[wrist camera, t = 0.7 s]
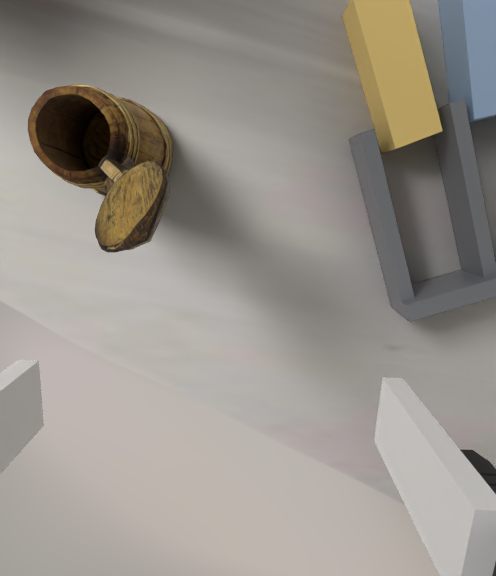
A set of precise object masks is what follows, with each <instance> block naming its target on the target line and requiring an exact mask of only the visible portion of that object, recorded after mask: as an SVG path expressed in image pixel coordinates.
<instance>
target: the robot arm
mask: <svg viewBox="0 0 496 576" xmlns="http://www.w3.org/2000/svg"><path fill="white" fill-rule="evenodd" d="M43 425H44V423H43V410H42V397H41V384H40V372H39V361H34V360H18V361H17V362H15V363H14V364H12V365H11V366H9V367H8V368H7V369H5V370H4V371H2V372H1V373H0V474H1V473H2V472H3V471H4V469H5V468H6V467H7V466H8V465H9V464H10V463H11V462H12V461H13V459H14V458H15V457H16V456H17V455H18V454H19V453H20V451H21V450H22V449H23V448H24V447H25V446H26V445H27V444H28V442H29V441H30V440H31V439H32V438H33V437H34V436H35V435H36V433H37V432H38V431H39V430H40V429H41V428H42V427H43ZM374 442H375V444H376V446H377V448H378V450H379V452H380V455H381V457H382V459H383V461H384V463H385V465H386V467H387V469H388V471H389V473H390V475H391V477H392V479H393V481H394V483H395V485H396V487H397V489H398V492H399V494H400V496H401V498H402V500H403V502H404V504H405V506H406V508H407V510H408V512H409V514H410V516H411V518H412V520H413V522H414V524H415V527H416V529H417V531H418V533H419V535H420V537H421V539H422V541H423V543H424V545H425V547H426V549H427V551H428V553H429V555H430V557H431V559H432V561H433V563H434V566H435V567H436V570H437V572H438V574H439V576H496V469H495V468H494V467H493V465H492V464H491V463H490V462H489V461H488V460H486V459H485V458H483V457H482V456H480V455H479V454H478V453H476V452H475V451H473V450H460V449H459V448H458V447H457V445H456V444H455V443H454V442H453V440H452V439H451V438H450V437H449V435H448V434H447V433H446V432H445V430H444V429H443V428H442V427H441V425H440V424H439V423H438V422H437V420H436V419H435V418H434V417H433V415H432V414H431V413H430V412H429V410H428V409H427V408H426V407H425V405H424V404H423V403H422V402H421V400H420V399H419V398H418V397H417V395H416V394H415V393H414V392H413V390H412V389H411V388H410V387H409V386H408V384H407V383H406V382H405V381H404V379H403V378H387V377H383V378H382V386H381V393H380V401H379V408H378V415H377V423H376V430H375V438H374Z"/></svg>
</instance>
